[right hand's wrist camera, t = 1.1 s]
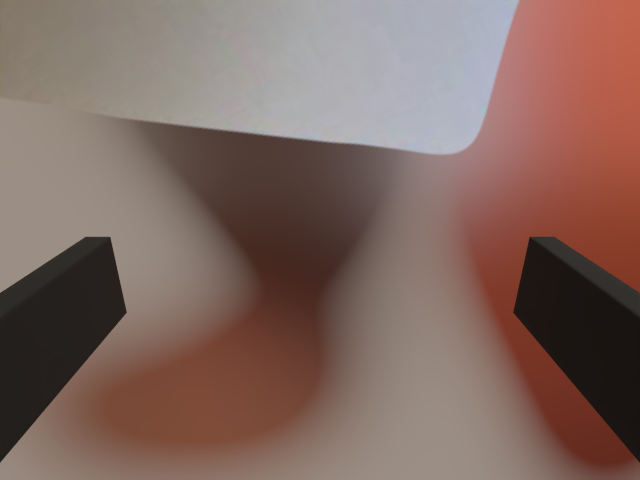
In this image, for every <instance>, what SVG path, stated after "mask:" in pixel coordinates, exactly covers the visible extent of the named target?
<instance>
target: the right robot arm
mask: <svg viewBox="0 0 640 480" xmlns="http://www.w3.org/2000/svg"><path fill="white" fill-rule="evenodd" d="M126 313H127V312H126V307H125V303H124V298H123V294H122V289H121V285H120V280H119V275H118V271H117V266H116V261H115V257H114V252H113V248H112V243H111V238H110V237H85V238H83V239H82V240H80V241H79V242H77V243H76V244H74V245H73V246H71V247H70V248H68V249H67V250H65V251H64V252H62V253H61V254H59V255H58V256H56V257H54V258H53V259H51V260H50V261H48V262H47V263H45V264H44V265H42V266H41V267H39V268H38V269H36V270H35V271H33V272H32V273H30V274H29V275H27V276H26V277H24V278H22V279H21V280H19V281H18V282H16V283H15V284H13V285H12V286H10V287H9V288H7V289H6V290H4V291H3V292H1V293H0V462H1V461H2V460H3V459H4V457H5V456H6V455H7V454H8V453H9V451H10V450H11V449H12V448H13V447H14V446H15V444H16V443H17V442H18V441H19V440H20V438H21V437H22V436H23V435H24V434H25V432H26V431H27V430H28V429H29V428H30V427H31V425H32V424H33V423H34V422H35V421H36V419H37V418H38V417H39V416H40V415H41V413H42V412H43V411H44V410H45V409H46V408H47V406H48V405H49V404H50V403H51V402H52V400H53V399H54V398H55V397H56V396H57V394H58V393H59V392H60V391H61V390H62V389H63V387H64V386H65V385H66V384H67V383H68V381H69V380H70V379H71V378H72V377H73V376H74V374H75V373H76V372H77V371H78V370H79V368H80V367H81V366H82V365H83V364H84V362H85V361H86V360H87V359H88V358H89V356H90V355H91V354H92V353H93V352H94V351H95V349H96V348H97V347H98V346H99V345H100V343H101V342H102V341H103V340H104V339H105V338H106V336H107V335H108V334H109V333H110V332H111V330H112V329H113V328H114V327H115V326H116V324H117V323H118V322H119V321H120V320H121V319H122V317H123V316H124V315H125V314H126ZM514 314H515V315H516V316H517V317H518V318H519V320H520V321H521V322H522V323H523V325H524V326H525V327H526V328H527V329H528V330H529V332H530V333H531V334H532V335H533V336H534V338H535V339H536V340H537V341H538V342H539V344H540V345H541V346H542V347H543V348H544V349H545V351H546V352H547V353H548V354H549V355H550V357H551V358H552V359H553V360H554V361H555V362H556V364H557V365H558V366H559V367H560V368H561V370H562V371H563V372H564V373H565V374H566V376H567V377H568V378H569V379H570V380H571V381H572V383H573V384H574V385H575V386H576V387H577V389H578V390H579V391H580V392H581V393H582V395H583V396H584V397H585V398H586V399H587V400H588V402H589V403H590V404H591V405H592V406H593V408H594V409H595V410H596V411H597V412H598V413H599V415H600V416H601V417H602V418H603V419H604V421H605V422H606V423H607V424H608V425H609V426H610V428H611V429H612V430H613V431H614V432H615V434H616V435H617V436H618V437H619V438H620V440H621V441H622V442H623V443H624V444H625V446H626V447H627V448H628V449H629V450H630V451H631V453H632V454H633V455H634V456H635V457H636V458H637V460H638V461H639V462H640V293H639V292H637V291H636V290H634V289H633V288H631V287H630V286H628V285H627V284H625V283H624V282H622V281H621V280H619V279H618V278H616V277H615V276H613V275H611V274H610V273H608V272H607V271H605V270H604V269H602V268H601V267H599V266H598V265H596V264H595V263H593V262H592V261H590V260H589V259H587V258H586V257H584V256H583V255H581V254H579V253H578V252H576V251H575V250H573V249H572V248H570V247H569V246H567V245H566V244H564V243H563V242H561V241H560V240H558V239H557V238H555V237H530V238H529V243H528V247H527V252H526V257H525V261H524V266H523V270H522V275H521V280H520V284H519V289H518V294H517V298H516V303H515V307H514Z"/></svg>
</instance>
